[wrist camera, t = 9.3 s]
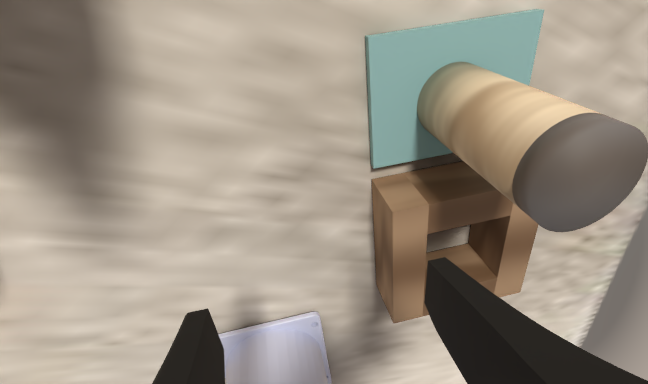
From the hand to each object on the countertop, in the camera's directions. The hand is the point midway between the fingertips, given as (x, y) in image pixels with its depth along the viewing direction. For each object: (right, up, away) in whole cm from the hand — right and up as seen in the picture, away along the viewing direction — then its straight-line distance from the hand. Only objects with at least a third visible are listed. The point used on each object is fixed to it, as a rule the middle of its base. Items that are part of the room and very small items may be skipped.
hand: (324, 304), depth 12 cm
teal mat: (+7, +9, +8) cm, 14 cm away
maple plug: (+7, +9, +7) cm, 13 cm away
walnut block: (+8, +2, +13) cm, 15 cm away
